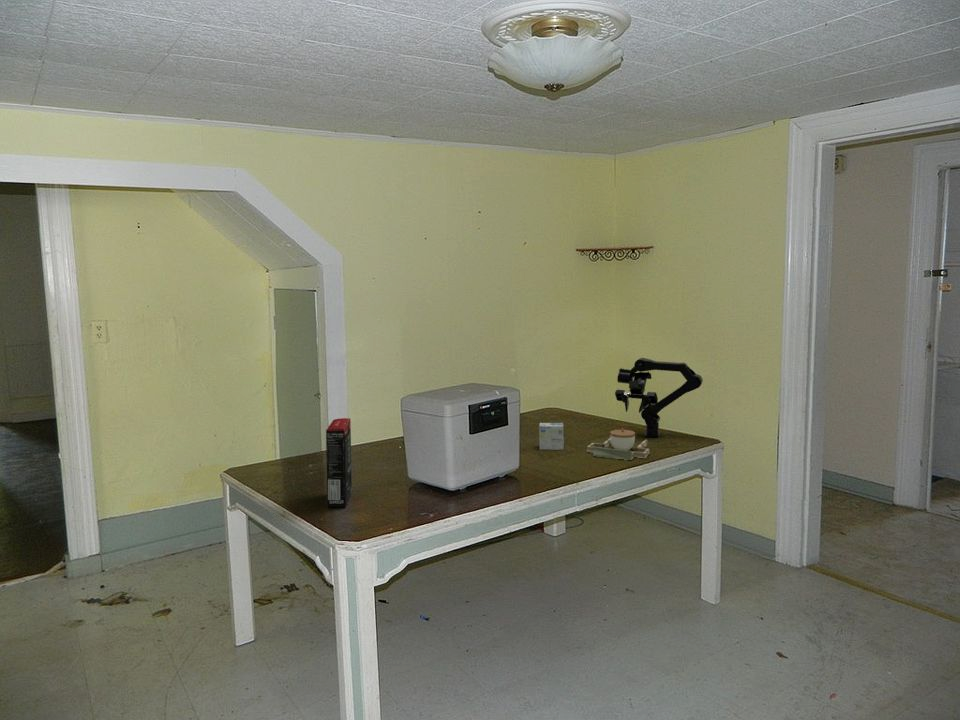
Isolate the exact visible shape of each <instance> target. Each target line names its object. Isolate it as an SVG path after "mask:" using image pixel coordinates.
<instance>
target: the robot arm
mask: <svg viewBox="0 0 960 720" xmlns="http://www.w3.org/2000/svg"><path fill="white" fill-rule="evenodd" d="M649 371H650V372H651V371H667V372H678V373H679V372H680V374H681V375H682V376H683V378H684V379H685V380H686V381H685V382H684V383H683V384H682V385H681V386H679V387H678V388H676V389H674V390H673V391H672V392H671V393H669V394H667V395H666V396H665V397H663V398H661V400H659V398H658V394H657V392H656V391H647V394H645V393H644V392H645V390H646V384H647V381H648V380H652V373H650V372H649ZM616 380H617V383H619V384H628V388H629V392H628V391H627V392H626V391H625V389H616V390H615V391H614V395H615V399H616V401H618V402H622V403H624V406H625V412H626V413H627V412H628V409H629V404H630V400H629V399H634V400H635V399H636V400H638V399H639V400H641V402H640V405H639V409H638V413H639V414H640V415H641V418H642V419H643V420H644V422H645V423H644V424H645V434H643V437H647V438H659V437H660V436H661V433H659V430H660V427H659V425H660V424H659V422H660V420H661V417H660V415H659V412H661V411H662V410H663V409H664V408H666V407H668V406H669V405H670V404H672V403H674V402H675V401H676V400H678V399H679V398H681V397H682V396H683V395H685V394H688V393H690V392H692V391H694V390H697V389H699V388H700V387H702V386H701V385H702V384H703V381H704V380H703V377H702V376H701V375H700V374H697V373H696V372H695V371H694V370H693V369H692V368H690V366H688V364H687V363H685V362H671V361H658V360H657V361H656V360H653V359H649V358H645V357H640V358H638V359H637V360H636V361H635V362H634V366H633V367H632V368H631V369H629V368H628V369H627V368H626V369H625V368H623V367H622V368H621V367H620V368H619V369H618V374H617V379H616Z"/></svg>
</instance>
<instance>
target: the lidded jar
mask: <svg viewBox="0 0 960 720" xmlns="http://www.w3.org/2000/svg"><path fill="white" fill-rule="evenodd" d="M609 434H610V435H609V436H610V437H609V438H610V440H611V446H612V447H613V449H619V450H629V451H631V449H632V448H633V447H634V445H635V441H636V432H635V431H633V430H630V429H625V428H623V427H622V428H621V429H612V430H610V431H609Z"/></svg>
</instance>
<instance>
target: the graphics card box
mask: <svg viewBox="0 0 960 720" xmlns="http://www.w3.org/2000/svg"><path fill="white" fill-rule="evenodd" d="M351 422H352V420H351V418H347V417H346V418H344V417H343V418H335V419H333V420H332V421H331V422H330V424H329V426H328V427H327V428H326V430H325V441H326V442H325V444H326V445H325V447H326V449H325V451H326V455H325V456H326V495H327V497H326V499H327V500H326V501H327V503H326V505H327V506H326V507H327V508H346V507H347V505H348V503H349V500H350V497H351V495H352V492H353V490H352V431H351V430H352V429H351V428H352V427H351Z"/></svg>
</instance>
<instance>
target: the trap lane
mask: <svg viewBox="0 0 960 720" xmlns="http://www.w3.org/2000/svg"><path fill="white" fill-rule="evenodd" d="M610 444H611V440H610V437H609V438H608V439H607V440H605V441H604V442H603V443H600V442H592V443H590V444H588V445H587V446H586V453H587V452H590V453H589V454H592V455H593V456H596V457H595V458H601V457H605V458H604V459H610V458H615V459H614V460H618V459H624V460H623V461H627V460H632V459H633V458H634V457H638V458H637V459H639V458H646V457H647V456H648V455H649V454H650V448H646V447H647V446H648V439H644V440H643V441H642V442H641V443H640V444H639V445H637V447H635V451H632V450H629V451H628V450H619V449H615V448H608V447H610V446H611V445H612V444H611V445H610ZM609 445H610V446H609ZM606 447H607V448H606ZM650 455H651V454H650ZM650 455H649V456H650ZM593 456H592V457H593ZM649 456H648V457H649ZM648 457H647V458H648ZM647 458H646V459H647ZM634 459H635V458H634ZM632 461H633V460H632Z"/></svg>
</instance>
